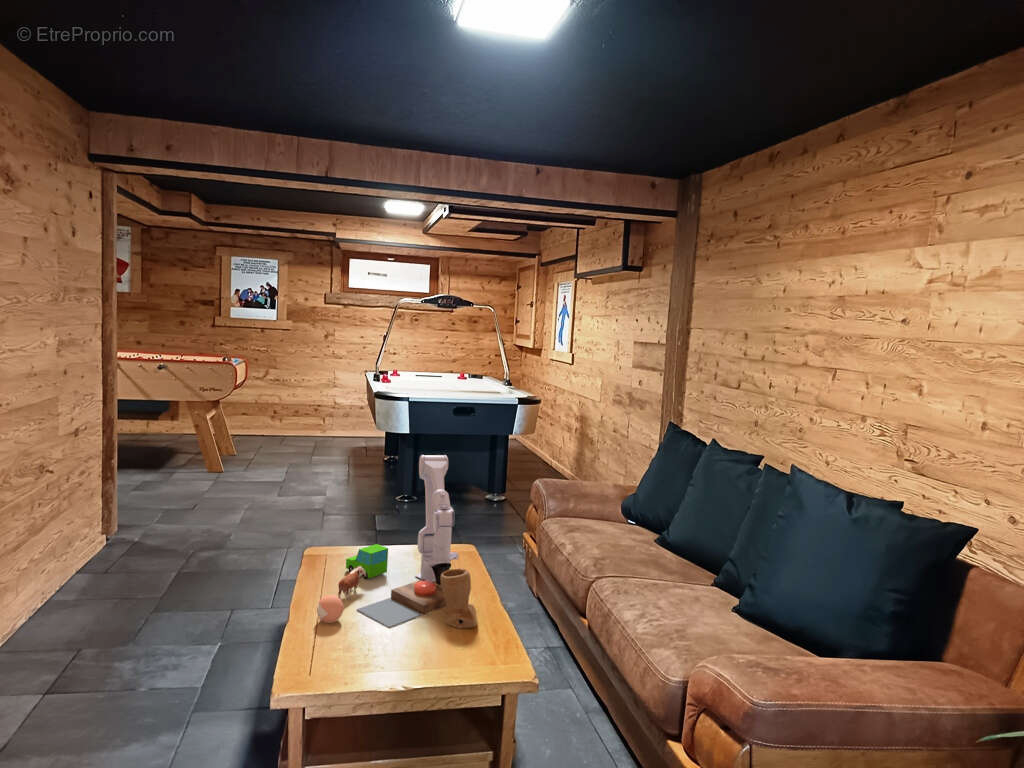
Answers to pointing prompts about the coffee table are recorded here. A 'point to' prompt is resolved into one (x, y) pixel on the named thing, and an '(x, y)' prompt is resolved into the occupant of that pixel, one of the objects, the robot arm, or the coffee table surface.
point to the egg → (330, 608)
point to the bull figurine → (350, 582)
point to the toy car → (370, 560)
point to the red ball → (424, 588)
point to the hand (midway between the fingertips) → (439, 584)
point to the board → (419, 598)
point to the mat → (389, 612)
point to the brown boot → (458, 598)
